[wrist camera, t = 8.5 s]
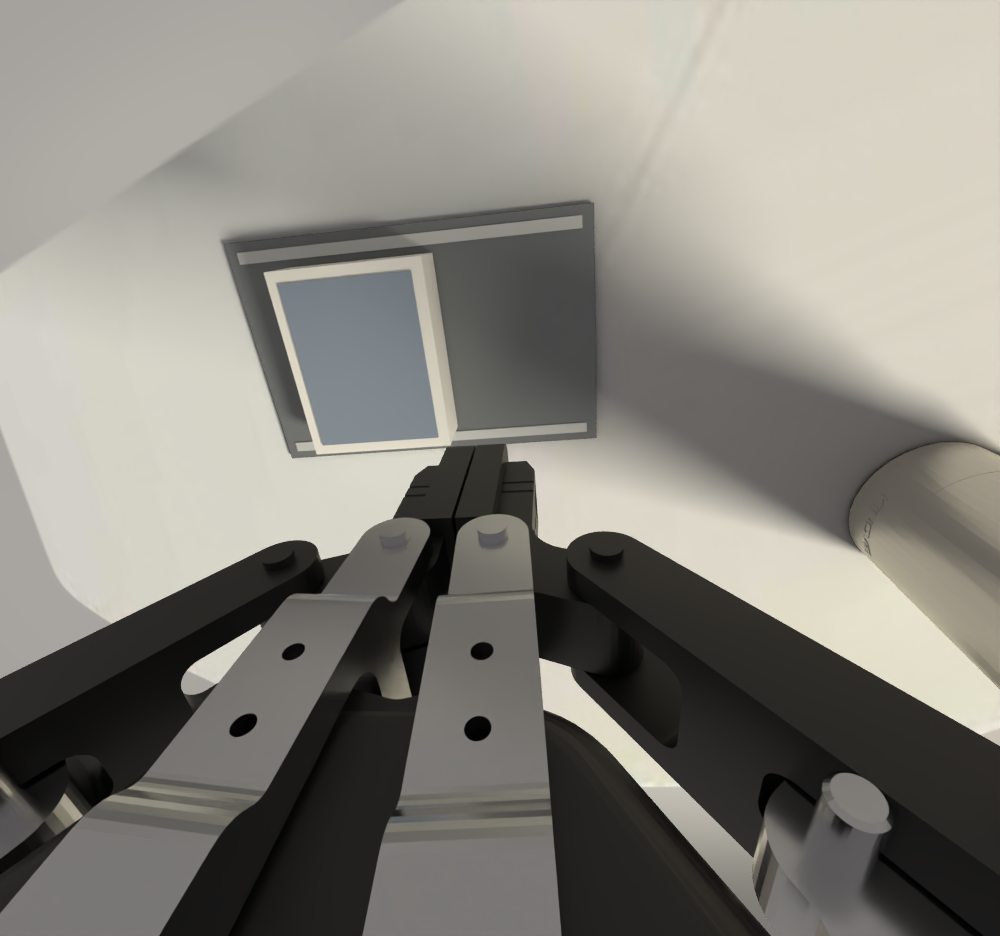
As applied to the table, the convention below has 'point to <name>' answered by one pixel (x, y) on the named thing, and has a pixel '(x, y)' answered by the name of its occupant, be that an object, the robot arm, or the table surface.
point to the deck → (367, 352)
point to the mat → (466, 318)
